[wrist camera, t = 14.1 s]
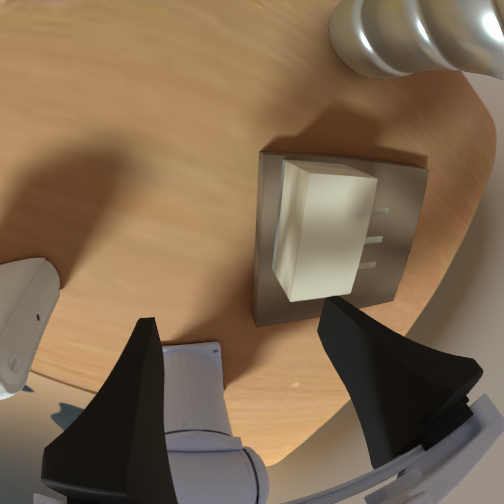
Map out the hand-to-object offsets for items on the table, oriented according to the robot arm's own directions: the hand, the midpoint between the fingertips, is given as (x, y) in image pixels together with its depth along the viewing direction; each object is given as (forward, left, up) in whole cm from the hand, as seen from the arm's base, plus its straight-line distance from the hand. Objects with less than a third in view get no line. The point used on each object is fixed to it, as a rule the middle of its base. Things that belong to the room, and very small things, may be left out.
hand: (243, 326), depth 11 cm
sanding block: (+1, -6, -8) cm, 11 cm away
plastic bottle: (+15, -10, -10) cm, 21 cm away
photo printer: (-3, +18, -10) cm, 21 cm away
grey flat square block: (-2, -11, -10) cm, 15 cm away
